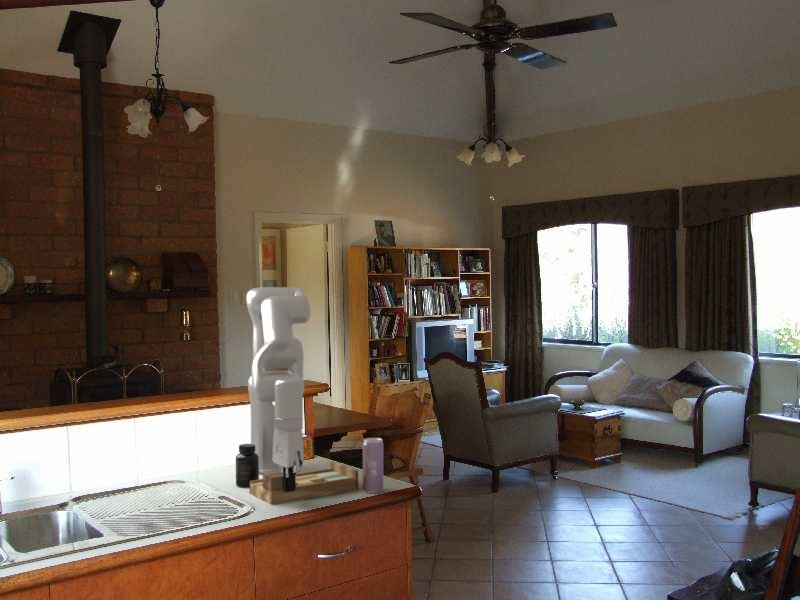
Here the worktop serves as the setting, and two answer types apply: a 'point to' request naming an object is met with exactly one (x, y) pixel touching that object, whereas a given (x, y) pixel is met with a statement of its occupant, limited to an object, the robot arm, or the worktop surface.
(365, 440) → the beverage can
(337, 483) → the trap trough
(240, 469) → the supplement bottle
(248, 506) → the worktop surface
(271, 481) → the walnut block
